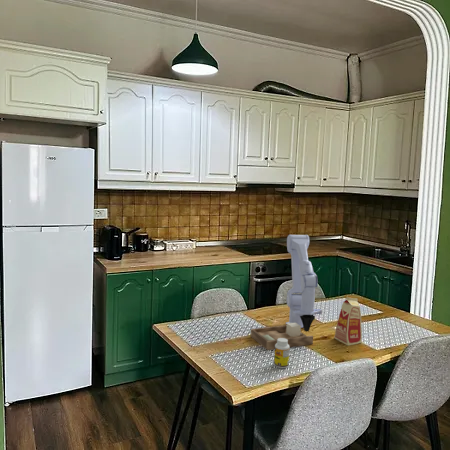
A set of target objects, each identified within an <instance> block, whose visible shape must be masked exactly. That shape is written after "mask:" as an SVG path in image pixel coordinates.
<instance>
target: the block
mask: <svg viewBox="0 0 450 450" xmlns="http://www.w3.org/2000/svg"><path fill="white" fill-rule="evenodd" d="M286 325H287V328H286V333H287V334H288V335H289V336H291V337H294V336H300V332H302V331H301V326H300V325H299V324H297V323H287V324H286Z"/></svg>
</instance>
